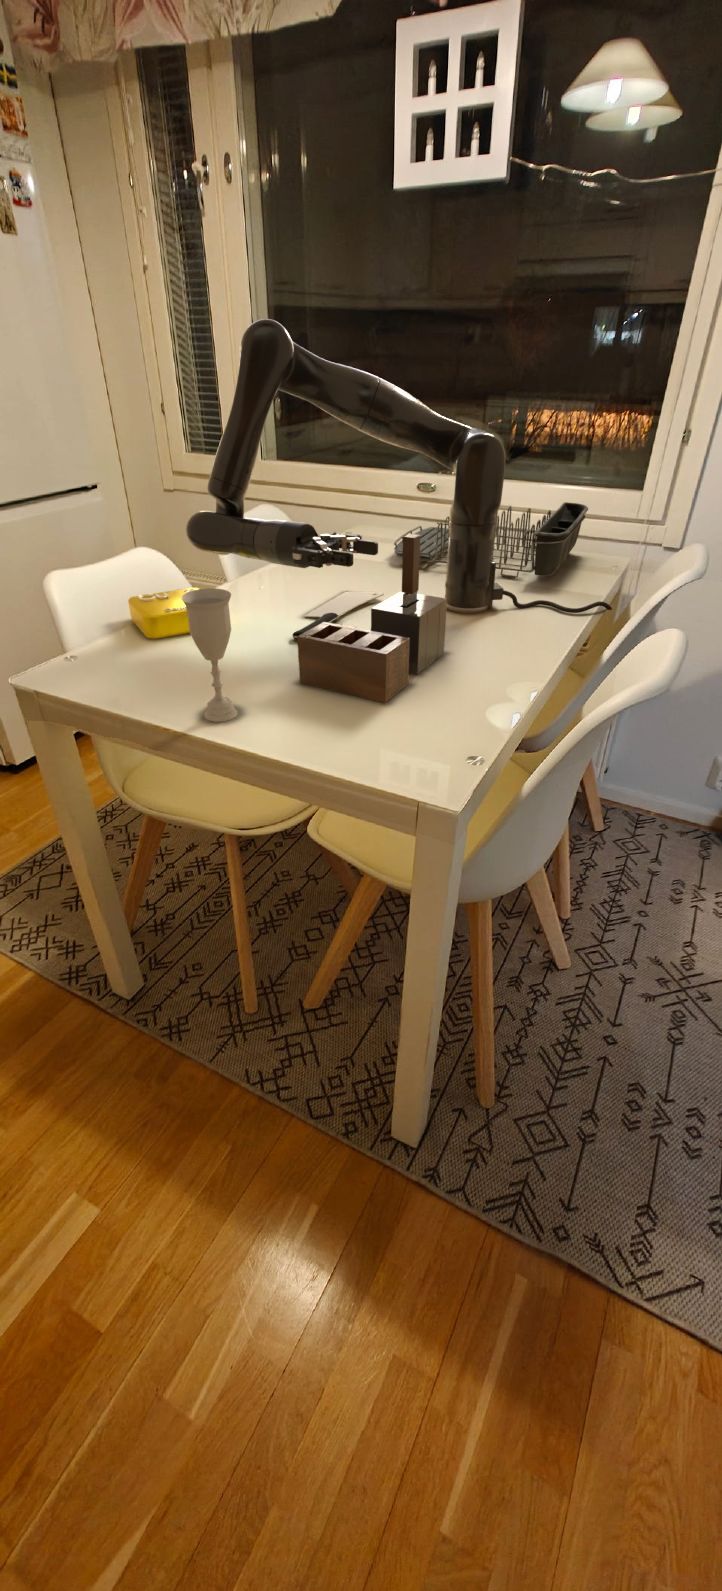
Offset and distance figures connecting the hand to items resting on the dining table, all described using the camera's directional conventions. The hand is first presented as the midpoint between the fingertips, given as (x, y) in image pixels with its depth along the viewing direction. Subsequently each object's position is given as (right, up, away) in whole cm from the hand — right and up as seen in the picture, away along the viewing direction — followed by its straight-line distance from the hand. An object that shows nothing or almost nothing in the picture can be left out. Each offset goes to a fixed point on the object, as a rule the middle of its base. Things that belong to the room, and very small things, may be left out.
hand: (365, 554), depth 121 cm
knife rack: (-2, -23, -4) cm, 23 cm away
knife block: (+8, -17, +5) cm, 19 cm away
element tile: (-38, -6, +23) cm, 45 cm away
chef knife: (+8, -17, +5) cm, 19 cm away
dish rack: (+31, +20, +63) cm, 73 cm away
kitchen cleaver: (-7, -4, +26) cm, 27 cm away
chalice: (-22, -29, -13) cm, 38 cm away
